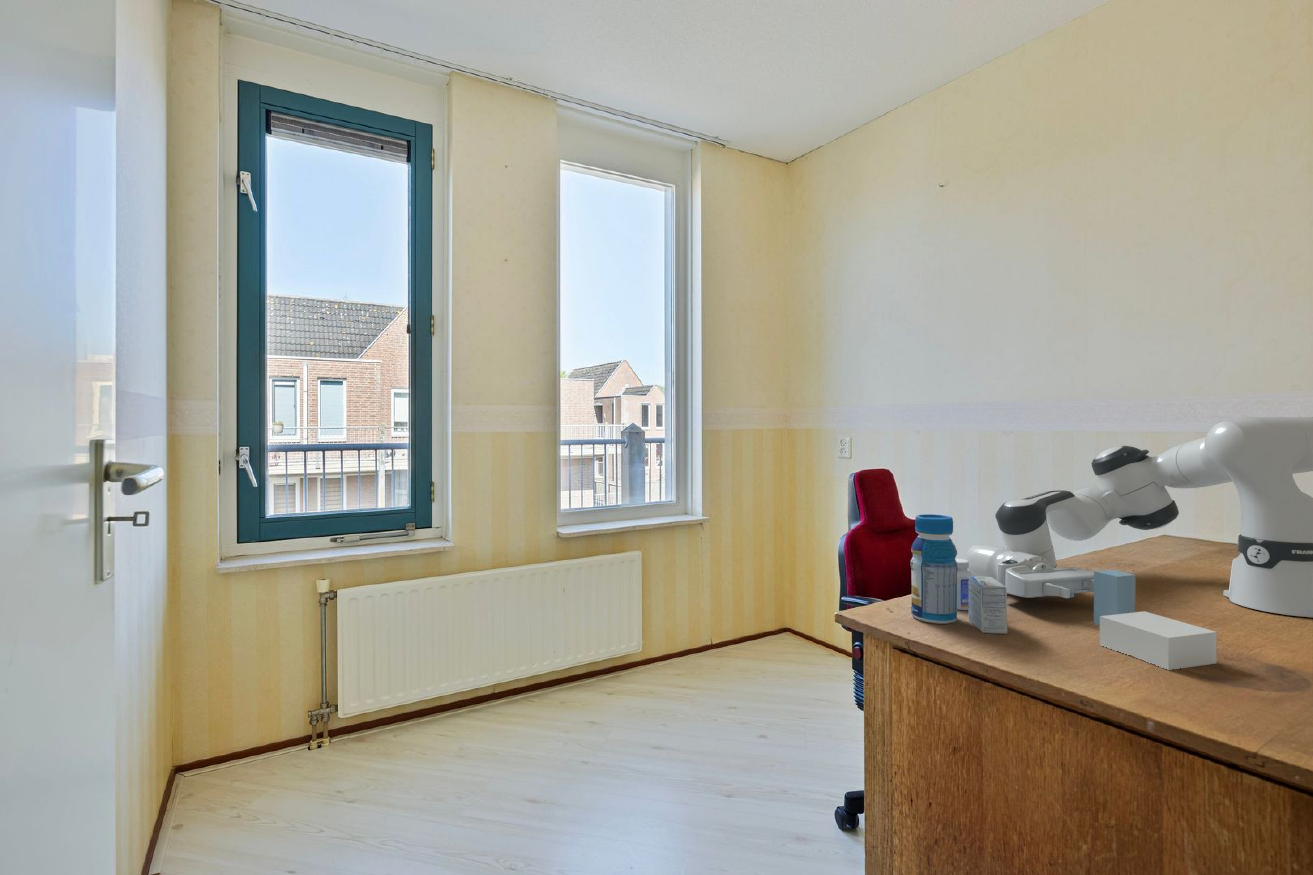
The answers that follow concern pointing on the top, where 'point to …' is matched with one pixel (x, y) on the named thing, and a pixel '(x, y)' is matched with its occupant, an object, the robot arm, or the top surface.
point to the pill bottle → (962, 584)
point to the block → (1113, 593)
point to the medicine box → (987, 604)
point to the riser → (1159, 640)
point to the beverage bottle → (934, 570)
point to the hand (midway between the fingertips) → (1090, 592)
